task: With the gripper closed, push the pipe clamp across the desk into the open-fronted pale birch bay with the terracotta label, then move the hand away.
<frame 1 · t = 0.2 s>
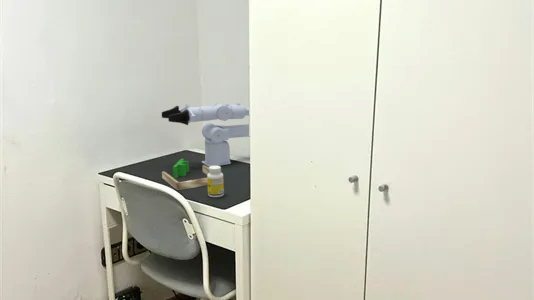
hand: (165, 116, 216), 21 cm above the table, tool horizontal, fingers open, 7 cm apart
birch bay: (190, 179, 211), on the table
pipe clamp: (182, 174, 218), on the table
supplement bottle: (215, 195, 194), on the table
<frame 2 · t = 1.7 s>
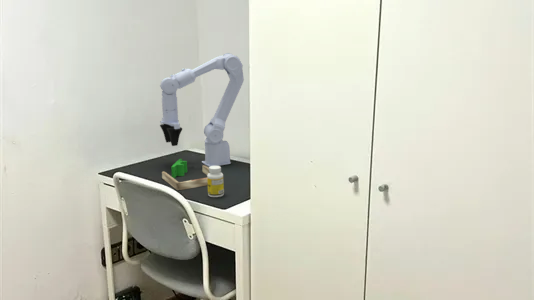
hand: (171, 143, 224), 9 cm above the table, tool pointing down, fingers open, 6 cm apart
nothing on the table moved.
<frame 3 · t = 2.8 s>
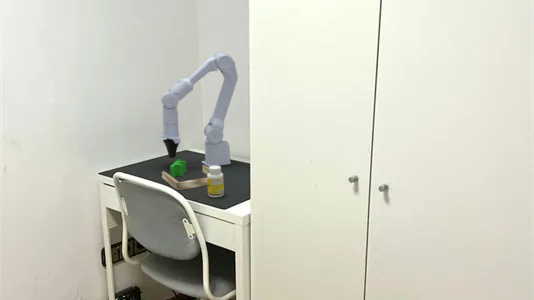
hand: (172, 157, 226), 4 cm above the table, tool pointing down, fingers closed
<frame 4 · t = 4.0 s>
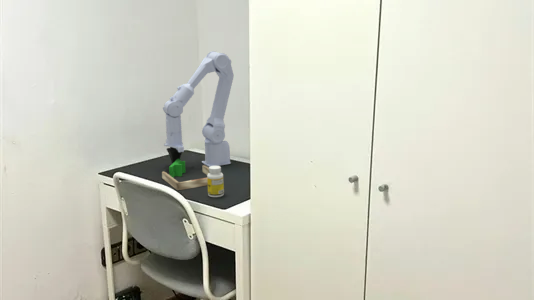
hand: (175, 166, 224), 1 cm above the table, tool pointing down, fingers closed
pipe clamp: (178, 174, 217), on the table, touching gripper
everything else where it was.
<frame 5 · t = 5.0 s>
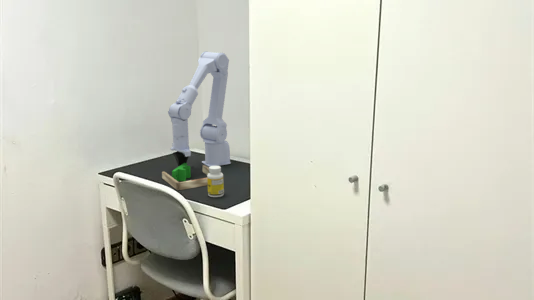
hand: (182, 170, 217), 1 cm above the table, tool pointing down, fingers closed
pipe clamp: (182, 179, 211), on the table, touching gripper
everything else where it was.
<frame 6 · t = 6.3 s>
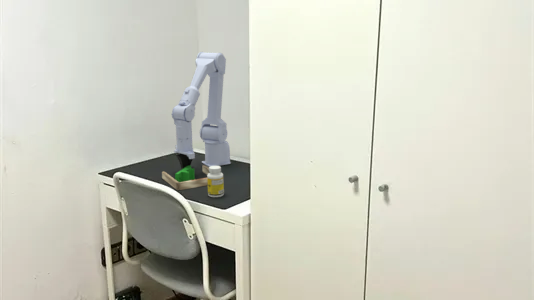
hand: (185, 173, 215), 1 cm above the table, tool pointing down, fingers closed
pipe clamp: (186, 182, 208), on the table, touching birch bay, gripper
everything else where it was.
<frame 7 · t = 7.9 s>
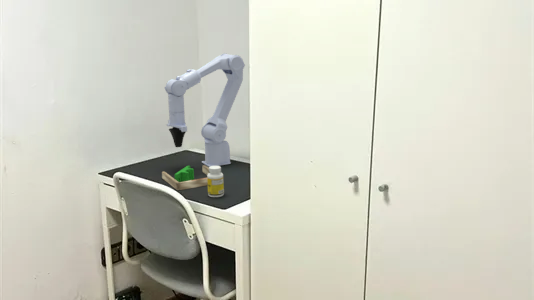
hand: (178, 146, 220), 9 cm above the table, tool pointing down, fingers closed
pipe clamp: (186, 182, 209), on the table
everything else where it was.
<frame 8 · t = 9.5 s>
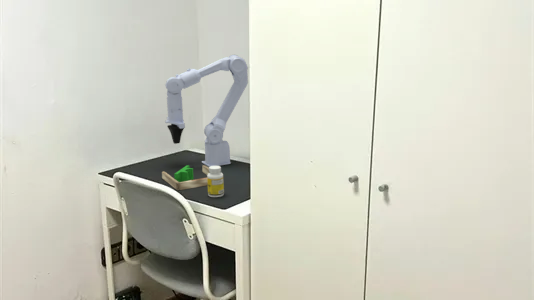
hand: (176, 143, 225), 9 cm above the table, tool pointing down, fingers closed
nothing on the table moved.
at the end: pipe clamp inside the target area on the birch bay (2.7 cm from its centre), point 0.0 cm above the birch bay's base; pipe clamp moved 9.5 cm from its start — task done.
